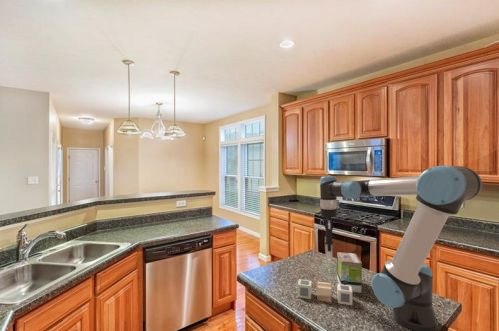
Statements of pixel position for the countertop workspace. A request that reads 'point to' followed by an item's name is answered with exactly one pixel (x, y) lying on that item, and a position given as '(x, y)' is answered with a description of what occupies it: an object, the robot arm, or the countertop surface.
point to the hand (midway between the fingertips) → (329, 257)
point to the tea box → (349, 271)
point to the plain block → (324, 291)
